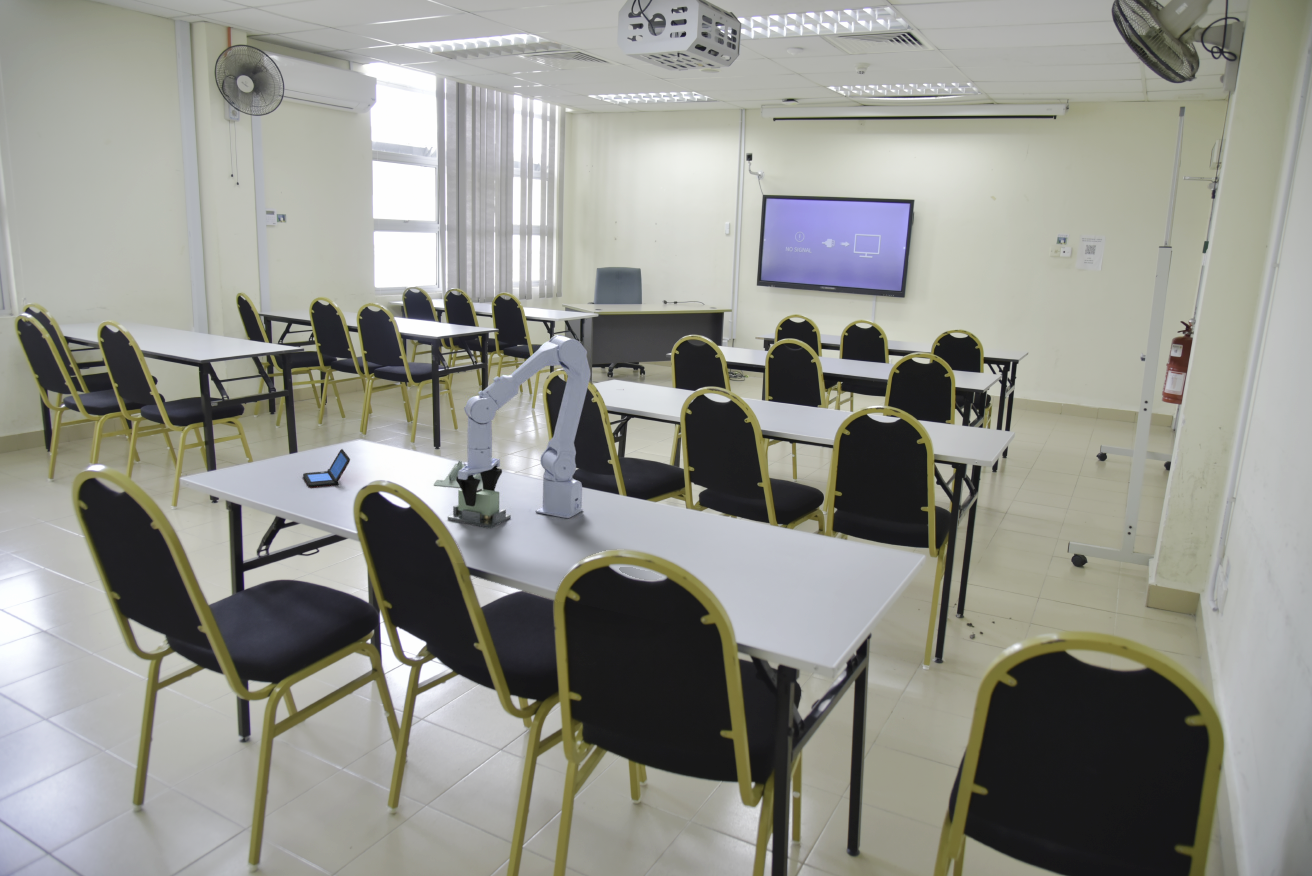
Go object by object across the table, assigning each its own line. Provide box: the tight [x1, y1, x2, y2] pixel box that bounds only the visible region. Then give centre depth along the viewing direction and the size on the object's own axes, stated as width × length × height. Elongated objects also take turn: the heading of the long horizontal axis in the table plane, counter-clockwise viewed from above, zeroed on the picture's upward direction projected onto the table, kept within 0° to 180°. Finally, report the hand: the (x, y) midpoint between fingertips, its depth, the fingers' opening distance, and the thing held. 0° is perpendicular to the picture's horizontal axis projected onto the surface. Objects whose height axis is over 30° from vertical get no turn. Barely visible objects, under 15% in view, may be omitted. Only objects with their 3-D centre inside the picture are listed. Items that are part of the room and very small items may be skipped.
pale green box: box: [457, 488, 500, 516], centre depth 207 cm, size 9×4×5 cm, turn 67°
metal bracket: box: [433, 460, 483, 489], centre depth 238 cm, size 14×6×15 cm
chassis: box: [447, 503, 512, 529], centre depth 207 cm, size 12×9×3 cm
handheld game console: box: [302, 448, 351, 489], centre depth 233 cm, size 12×11×7 cm
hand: (479, 501), depth 207 cm, fingers open, 7 cm apart
